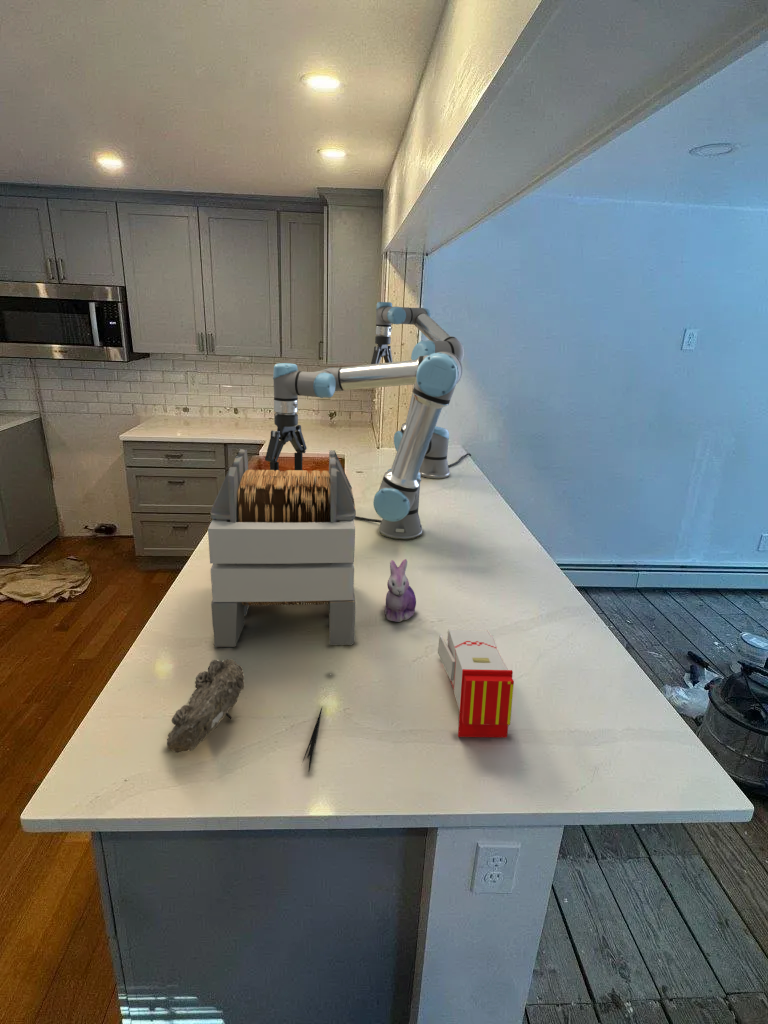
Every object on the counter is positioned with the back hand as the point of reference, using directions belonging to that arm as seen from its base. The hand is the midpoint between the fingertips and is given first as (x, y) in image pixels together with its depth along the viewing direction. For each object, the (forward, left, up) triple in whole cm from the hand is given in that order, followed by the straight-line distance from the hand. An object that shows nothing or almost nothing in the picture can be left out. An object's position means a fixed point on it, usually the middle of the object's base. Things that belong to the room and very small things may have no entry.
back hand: (381, 380), depth 282 cm
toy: (+99, +162, -41) cm, 194 cm away
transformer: (+114, +112, -41) cm, 165 cm away
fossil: (+146, +139, -41) cm, 205 cm away
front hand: (+88, +64, -20) cm, 111 cm away
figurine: (+91, +129, -41) cm, 163 cm away
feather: (+129, +151, -41) cm, 203 cm away
